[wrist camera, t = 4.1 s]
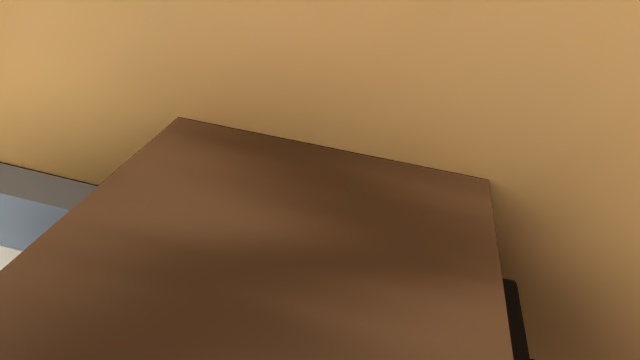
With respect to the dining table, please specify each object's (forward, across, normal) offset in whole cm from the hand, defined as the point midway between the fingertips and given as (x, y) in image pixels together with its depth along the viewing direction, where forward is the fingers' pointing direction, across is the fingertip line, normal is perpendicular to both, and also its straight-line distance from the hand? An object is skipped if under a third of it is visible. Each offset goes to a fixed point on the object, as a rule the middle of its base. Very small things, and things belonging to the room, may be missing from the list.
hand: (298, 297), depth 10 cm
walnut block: (+1, 0, 0) cm, 1 cm away
